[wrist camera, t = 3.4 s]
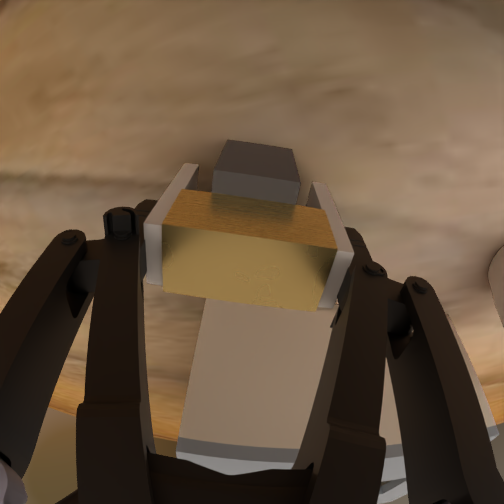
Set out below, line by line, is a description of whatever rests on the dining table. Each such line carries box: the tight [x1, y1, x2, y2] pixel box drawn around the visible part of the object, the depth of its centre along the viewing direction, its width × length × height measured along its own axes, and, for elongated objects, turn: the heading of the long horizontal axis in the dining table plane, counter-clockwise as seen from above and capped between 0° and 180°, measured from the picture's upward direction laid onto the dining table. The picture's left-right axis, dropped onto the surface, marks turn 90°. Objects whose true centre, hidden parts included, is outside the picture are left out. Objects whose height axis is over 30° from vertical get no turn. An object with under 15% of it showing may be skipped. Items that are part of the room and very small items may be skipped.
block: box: [211, 140, 301, 205], centre depth 16 cm, size 5×4×5 cm
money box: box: [176, 298, 499, 504], centre depth 22 cm, size 16×20×12 cm
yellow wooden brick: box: [162, 189, 338, 312], centre depth 13 cm, size 3×6×3 cm, turn 82°
